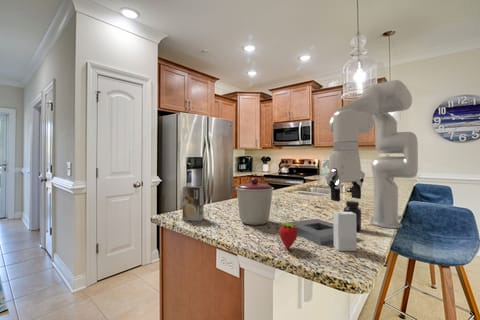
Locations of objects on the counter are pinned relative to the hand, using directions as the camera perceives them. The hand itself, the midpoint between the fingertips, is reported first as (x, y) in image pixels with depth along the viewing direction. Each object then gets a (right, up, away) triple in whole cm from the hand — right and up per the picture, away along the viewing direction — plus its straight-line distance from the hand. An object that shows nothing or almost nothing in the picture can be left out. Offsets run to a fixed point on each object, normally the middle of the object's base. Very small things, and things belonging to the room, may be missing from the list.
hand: (346, 199), depth 77 cm
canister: (-29, -17, +33) cm, 46 cm away
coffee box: (-58, -16, +37) cm, 71 cm away
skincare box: (-1, -17, -1) cm, 17 cm away
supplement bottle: (+13, -17, +22) cm, 31 cm away
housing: (-4, -16, +16) cm, 23 cm away
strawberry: (-19, -16, -1) cm, 25 cm away
